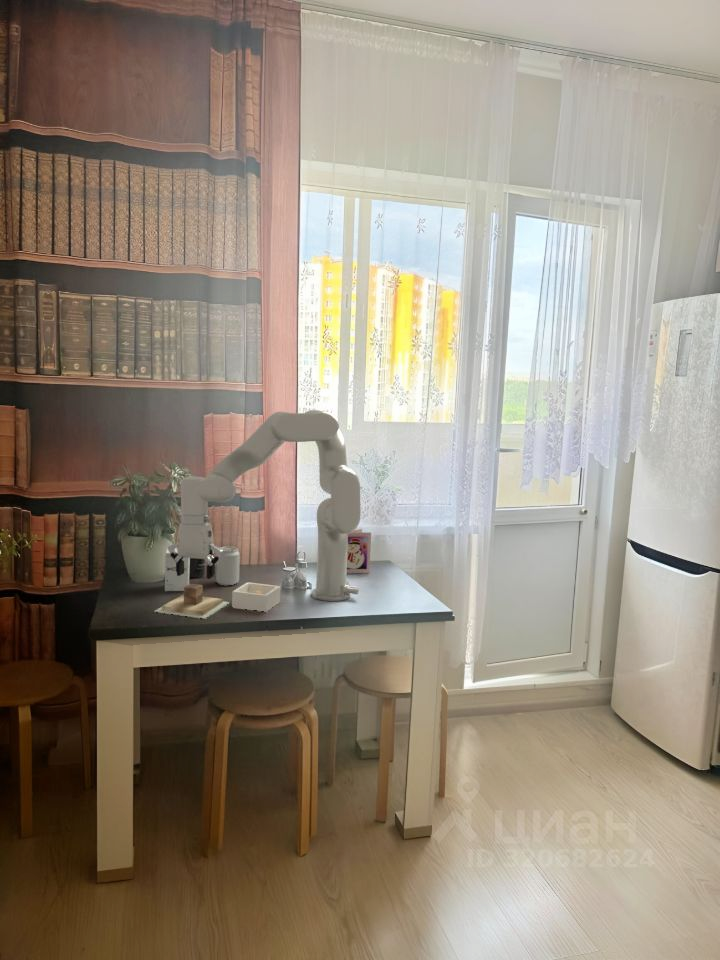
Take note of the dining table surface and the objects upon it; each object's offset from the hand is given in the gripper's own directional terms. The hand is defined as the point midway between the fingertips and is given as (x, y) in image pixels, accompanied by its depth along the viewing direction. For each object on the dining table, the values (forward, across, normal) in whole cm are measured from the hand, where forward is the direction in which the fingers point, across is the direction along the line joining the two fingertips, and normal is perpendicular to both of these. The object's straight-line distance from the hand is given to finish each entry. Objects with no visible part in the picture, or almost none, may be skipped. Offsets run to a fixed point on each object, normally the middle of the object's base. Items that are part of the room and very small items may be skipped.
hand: (195, 576), depth 216 cm
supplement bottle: (+10, +17, -31) cm, 37 cm away
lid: (+9, +1, 0) cm, 9 cm away
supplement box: (+10, +15, -15) cm, 23 cm away
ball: (+7, -15, -10) cm, 20 cm away
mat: (+10, +1, +1) cm, 10 cm away
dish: (+10, -15, -9) cm, 21 cm away
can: (+10, +3, -27) cm, 29 cm away
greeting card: (+12, -31, -60) cm, 69 cm away
